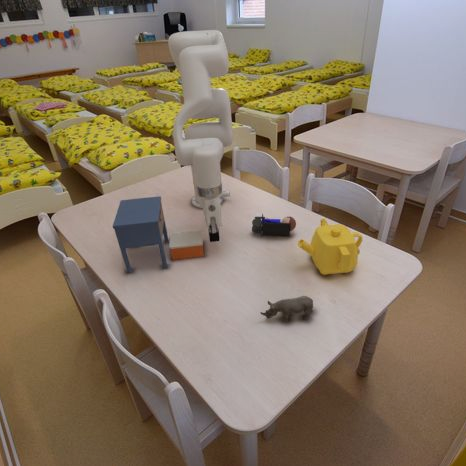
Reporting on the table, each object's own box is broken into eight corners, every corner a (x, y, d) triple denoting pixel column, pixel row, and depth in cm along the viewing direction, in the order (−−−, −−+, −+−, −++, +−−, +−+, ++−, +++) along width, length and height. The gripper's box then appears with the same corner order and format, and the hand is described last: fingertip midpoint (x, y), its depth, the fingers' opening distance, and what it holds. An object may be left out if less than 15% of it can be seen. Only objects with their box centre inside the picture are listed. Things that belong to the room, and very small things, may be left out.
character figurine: (252, 228, 120) (295, 231, 118) (250, 239, 114) (295, 241, 111) (252, 209, 116) (296, 210, 114) (250, 218, 110) (296, 220, 108)
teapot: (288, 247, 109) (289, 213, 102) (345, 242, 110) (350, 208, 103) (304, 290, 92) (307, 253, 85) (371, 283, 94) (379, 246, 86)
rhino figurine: (258, 314, 86) (258, 297, 83) (311, 307, 87) (312, 290, 84) (261, 326, 83) (261, 309, 79) (316, 319, 84) (318, 302, 80)
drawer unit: (169, 240, 116) (160, 196, 106) (167, 268, 103) (157, 221, 94) (132, 244, 115) (120, 200, 105) (126, 273, 102) (112, 226, 92)
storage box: (203, 242, 114) (201, 230, 111) (204, 256, 107) (202, 243, 104) (172, 246, 113) (170, 233, 110) (171, 260, 106) (169, 247, 103)
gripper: (224, 199, 93) (228, 252, 103) (219, 177, 105) (223, 226, 115) (197, 202, 92) (204, 255, 102) (195, 179, 105) (201, 229, 115)
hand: (214, 240), depth 109 cm, fingers closed
